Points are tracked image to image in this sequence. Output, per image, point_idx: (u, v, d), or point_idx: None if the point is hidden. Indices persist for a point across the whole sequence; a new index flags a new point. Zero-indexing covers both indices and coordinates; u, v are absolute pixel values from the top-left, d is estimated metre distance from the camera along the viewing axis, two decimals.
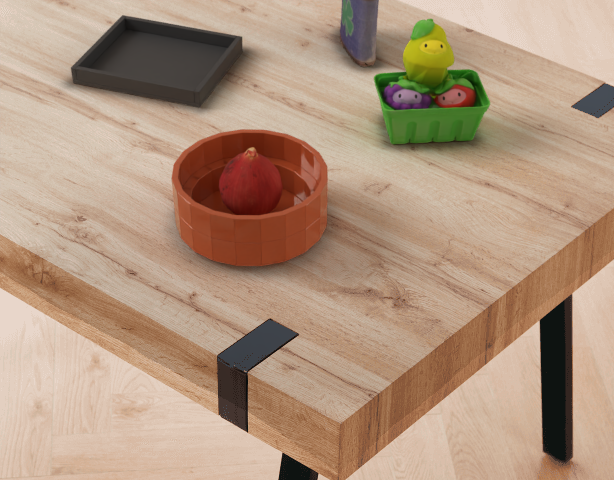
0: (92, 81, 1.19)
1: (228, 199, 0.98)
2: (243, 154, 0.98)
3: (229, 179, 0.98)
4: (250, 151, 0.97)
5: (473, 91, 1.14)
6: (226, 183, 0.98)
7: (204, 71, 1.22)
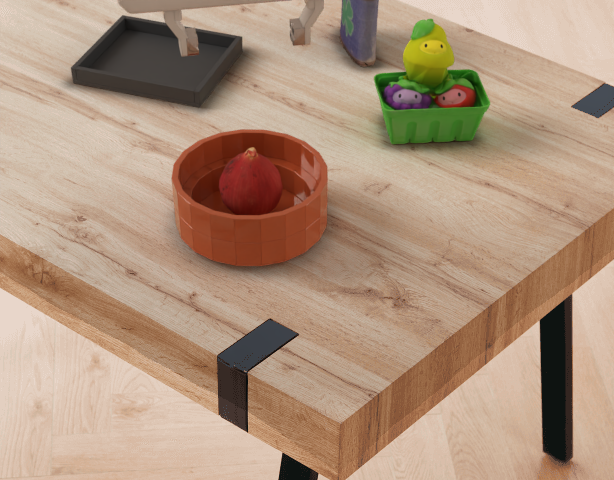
0: (92, 81, 1.19)
1: (228, 199, 0.98)
2: (243, 154, 0.98)
3: (229, 179, 0.98)
4: (250, 151, 0.97)
5: (473, 91, 1.14)
6: (226, 183, 0.98)
7: (204, 71, 1.22)
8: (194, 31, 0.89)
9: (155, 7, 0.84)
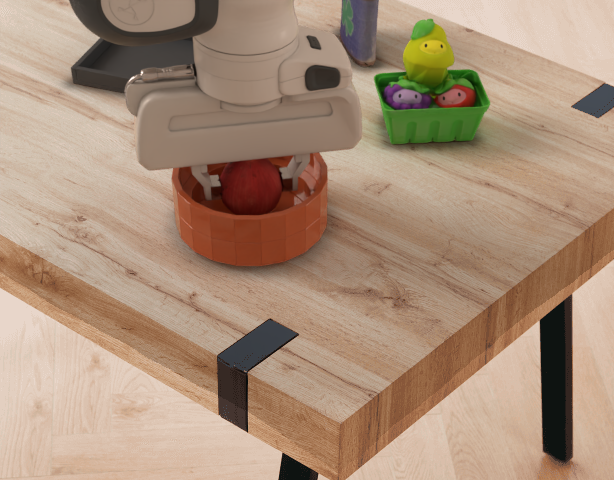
0: (92, 81, 1.19)
1: (228, 199, 0.98)
2: None
3: (229, 179, 0.98)
4: None
5: (473, 91, 1.14)
6: (225, 183, 0.98)
7: None
8: (217, 178, 0.99)
9: (171, 165, 0.94)
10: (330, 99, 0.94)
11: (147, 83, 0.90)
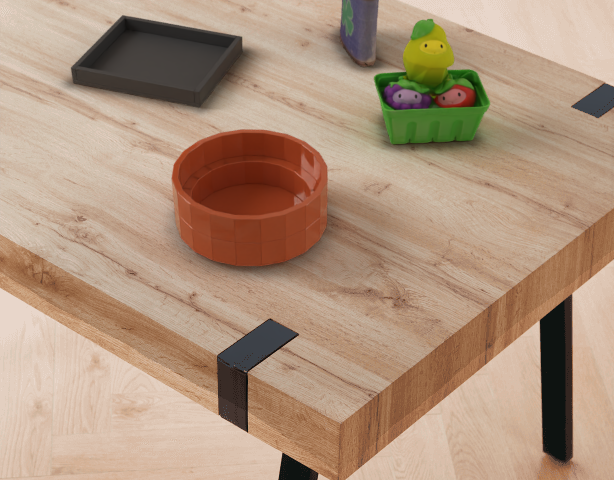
0: (92, 81, 1.19)
1: None
2: None
3: None
4: None
5: (473, 91, 1.14)
6: None
7: (204, 71, 1.22)
8: None
9: None
10: None
11: None
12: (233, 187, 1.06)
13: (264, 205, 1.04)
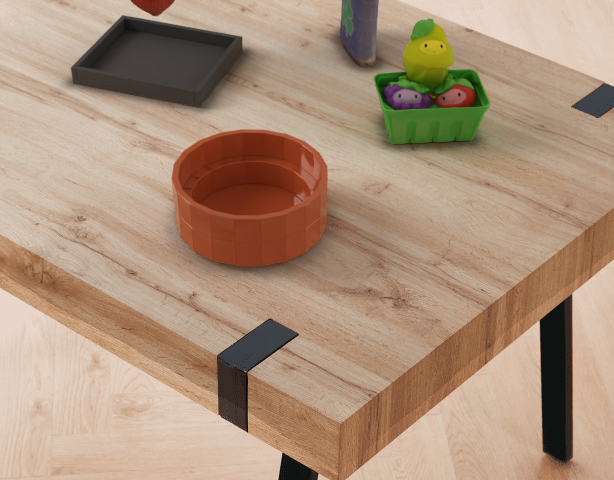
0: (92, 81, 1.19)
1: None
2: None
3: None
4: None
5: (473, 91, 1.14)
6: None
7: (204, 71, 1.22)
8: None
9: None
10: None
11: None
12: (233, 187, 1.06)
13: (264, 205, 1.04)
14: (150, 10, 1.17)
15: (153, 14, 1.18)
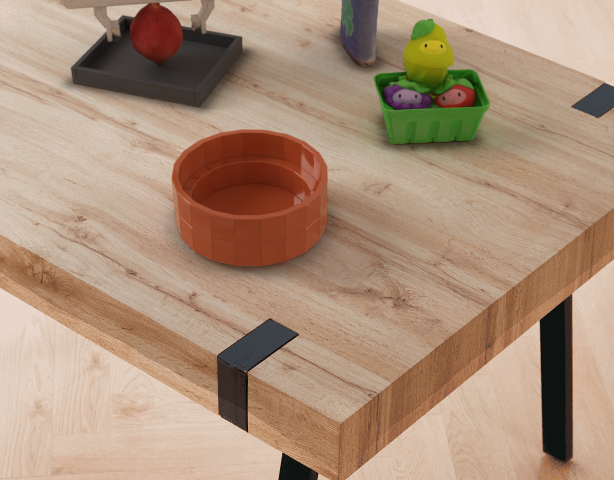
0: (92, 81, 1.19)
1: (136, 42, 1.19)
2: (148, 4, 1.18)
3: (137, 24, 1.19)
4: None
5: (473, 91, 1.14)
6: (134, 29, 1.19)
7: (204, 71, 1.22)
8: (117, 23, 1.19)
9: (86, 4, 1.15)
10: None
11: None
12: (233, 187, 1.06)
13: (264, 205, 1.04)
14: (155, 59, 1.21)
15: (157, 63, 1.22)
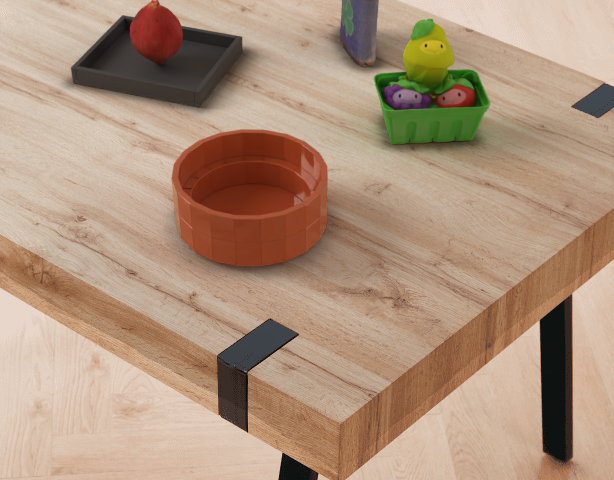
0: (92, 81, 1.19)
1: (136, 42, 1.19)
2: (148, 4, 1.18)
3: (137, 24, 1.19)
4: (153, 1, 1.18)
5: (473, 91, 1.14)
6: (134, 29, 1.19)
7: (204, 71, 1.22)
8: None
9: None
10: None
11: None
12: (233, 187, 1.06)
13: (264, 205, 1.04)
14: (155, 59, 1.21)
15: (157, 63, 1.22)
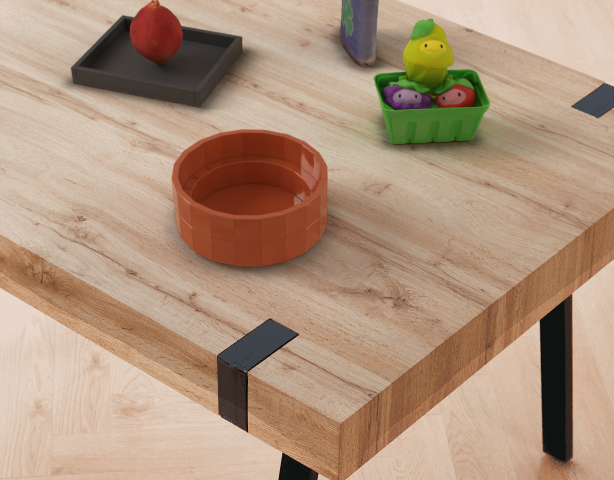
0: (92, 81, 1.19)
1: (136, 42, 1.19)
2: (148, 4, 1.18)
3: (137, 24, 1.19)
4: (153, 1, 1.18)
5: (473, 91, 1.14)
6: (134, 29, 1.19)
7: (204, 71, 1.22)
8: None
9: None
10: None
11: None
12: (233, 187, 1.06)
13: (264, 205, 1.04)
14: (155, 59, 1.21)
15: (157, 63, 1.22)
